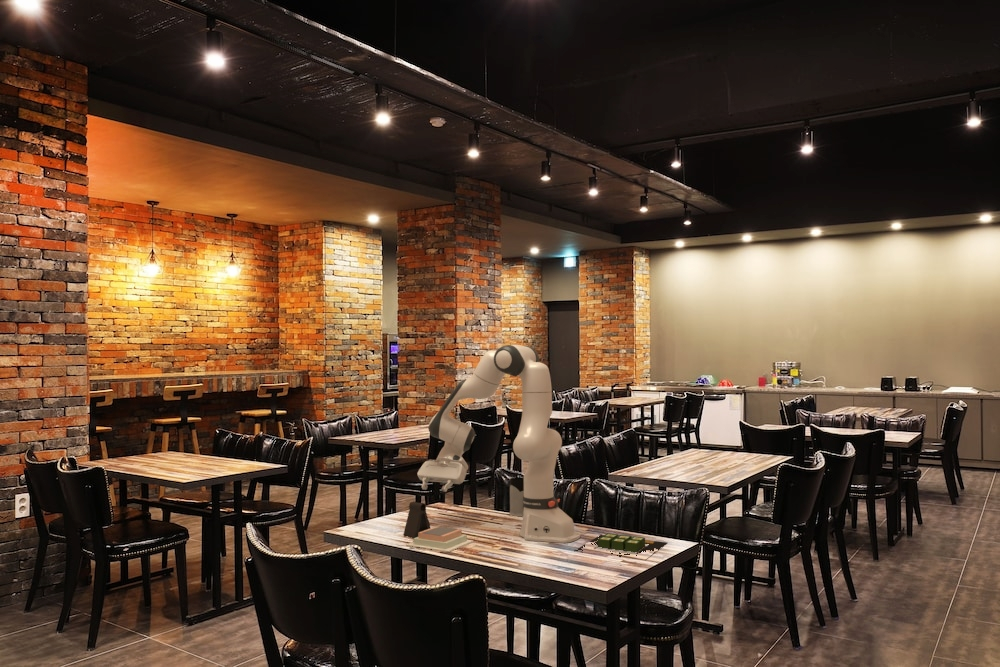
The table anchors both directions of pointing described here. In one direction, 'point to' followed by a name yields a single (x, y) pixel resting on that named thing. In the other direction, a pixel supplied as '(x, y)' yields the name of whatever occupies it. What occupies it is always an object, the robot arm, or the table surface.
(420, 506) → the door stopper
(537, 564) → the table surface
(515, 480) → the glass holder
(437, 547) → the base
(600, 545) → the sushi
